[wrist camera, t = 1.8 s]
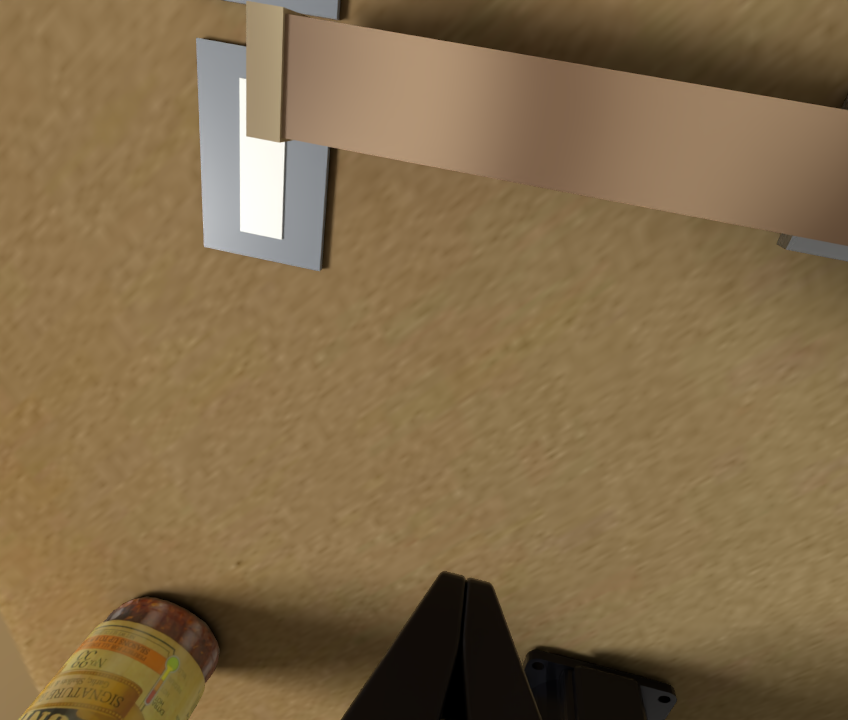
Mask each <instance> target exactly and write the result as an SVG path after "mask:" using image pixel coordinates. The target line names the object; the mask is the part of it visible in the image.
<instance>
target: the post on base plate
mask: <svg viewBox="0 0 848 720" xmlns="http://www.w3.org/2000/svg"><path fill="white" fill-rule="evenodd" d="M841 109H844V110H848V95H847V97H846V99H845V101H844V104H843V106H842V108H841ZM777 245H779V246H781V247H783V248H784V249H787V250H792V251H797V252H802V253H807V254H812V255H817V256H823V257H828V258H833V259H838V260H843V261H848V246H845V245H839V244H834V243H829V242H824V241H818V240H813V239H808V238H803V237H798V236H792V235H787V234H781V236H780V238H779V240H778V242H777Z"/></svg>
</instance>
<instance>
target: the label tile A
mask: <svg viewBox="0 0 848 720" xmlns="http://www.w3.org/2000/svg"><path fill="white" fill-rule="evenodd" d="M196 45H197V72H198V98H199V125H200V151H201V178H202V205H203V231H204V247H207V248H212V249H217V250H222V251H226V252H231V253H236V254H241V255H245V256H250V257H255V258H260V259H264V260H269V261H274V262H279V263H283V264H288V265H293V266H297V267H302V268H307V269H312V270H316V271H320V270H322V257H323V243H324V228H325V214H326V200H327V185H328V171H329V157H330V147H327V146H322V145H317V144H312V143H306V142H301V141H296V140H292V141H287V142H281V143H278V142H273V141H268V140H263V139H258V138H252V137H247V136H246V47H245V46H240V45H234V44H229V43H223V42H217V41H212V40H206V39H201V38H196Z"/></svg>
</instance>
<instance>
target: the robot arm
mask: <svg viewBox="0 0 848 720" xmlns="http://www.w3.org/2000/svg"><path fill="white" fill-rule="evenodd" d="M676 701H677V698H676V694H675V690H674V688H673V687H672V686H671V685H669V684H666V683H663V682H659V681H655V680H651V679H647V678H644V677H640V676H636V675H632V674H628V673H624V672H621V671H617V670H613V669H609V668H605V667H602V666H598V665H594V664H590V663H586V662H582V661H579V660H575V659H571V658H567V657H563V656H560V655H556V654H552V653H548V652H544V651H540V650H533V651H530V652H529V653H528V654H527V656H526V658H525V661H524V663H523V666H522V664H521V661H520V658H519V656H518V653H517V650H516V648H515V645H514V642H513V639H512V637H511V634H510V631H509V628H508V626H507V623H506V620H505V617H504V615H503V612H502V609H501V606H500V604H499V601H498V598H497V595H496V593H495V590H494V588H493V586H492V584H491V583H489V582H486V581H482V580H478V579H474V578H468V579H467V580H466V579H465V577H464V576H462V575H459V574H455V573H451V572H447V571H443V572H441V573H440V574H439V575H438V577H437V578H436V580H435V581H434V583H433V584H432V586H431V587H430V589H429V590H428V592H427V593H426V595H425V596H424V598H423V599H422V600H421V602H420V603H419V605H418V606H417V608H416V609H415V611H414V612H413V614H412V615H411V617H410V618H409V620H408V621H407V623H406V624H405V626H404V627H403V629H402V630H401V632H400V633H399V634H398V636H397V637H396V639H395V640H394V642H393V643H392V645H391V646H390V648H389V649H388V651H387V652H386V654H385V655H384V657H383V658H382V660H381V661H380V663H379V664H378V666H377V667H376V668H375V670H374V671H373V673H372V674H371V676H370V677H369V679H368V680H367V682H366V683H365V685H364V686H363V688H362V689H361V691H360V692H359V694H358V695H357V697H356V698H355V700H354V701H353V702H352V704H351V705H350V707H349V708H348V710H347V711H346V713H345V714H344V716H343V717H342V719H341V720H665V719H666V717H667V716H668V714H669V713H670V711H671V709H672V708H673V706H674V705H675V703H676Z"/></svg>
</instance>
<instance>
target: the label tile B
mask: <svg viewBox="0 0 848 720" xmlns="http://www.w3.org/2000/svg"><path fill="white" fill-rule="evenodd" d="M223 1H229V2H235V3H241V4H246V1H251V2H257V3H262V4H268V5H274V6H280V7H284V8H287V9H290V10H292V11H295V12H297V13H300V14H305V15H311V16H317V17H323V18H328V19H334V20H339V13H340V0H223Z"/></svg>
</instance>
